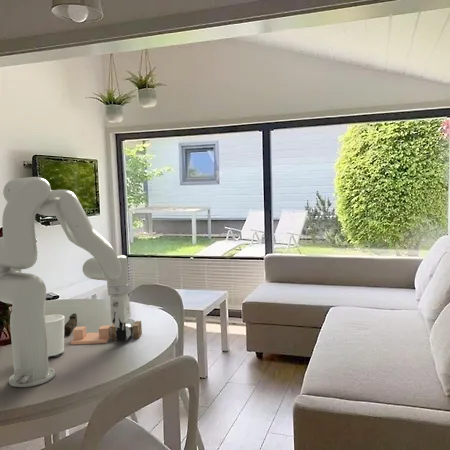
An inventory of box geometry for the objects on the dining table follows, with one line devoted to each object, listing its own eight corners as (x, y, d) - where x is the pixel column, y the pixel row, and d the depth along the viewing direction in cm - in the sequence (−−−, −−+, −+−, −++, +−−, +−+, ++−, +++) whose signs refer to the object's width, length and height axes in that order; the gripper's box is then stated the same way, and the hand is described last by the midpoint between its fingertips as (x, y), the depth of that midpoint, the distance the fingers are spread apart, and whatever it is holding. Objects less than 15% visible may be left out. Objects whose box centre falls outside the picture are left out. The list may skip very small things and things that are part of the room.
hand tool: (71, 336, 177) (70, 324, 176) (60, 336, 176) (59, 325, 176) (82, 322, 195) (81, 311, 195) (72, 323, 195) (72, 312, 195)
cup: (37, 352, 159) (34, 316, 158) (66, 348, 162) (64, 312, 161) (36, 362, 150) (33, 324, 149) (67, 357, 153) (64, 319, 152)
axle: (130, 341, 166) (128, 327, 166) (116, 342, 166) (115, 328, 166) (137, 331, 178) (135, 318, 178) (124, 332, 178) (123, 319, 178)
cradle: (106, 343, 166) (105, 331, 165) (71, 344, 166) (70, 332, 165) (113, 334, 176) (112, 322, 175) (80, 335, 176) (79, 324, 175)
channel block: (138, 338, 169) (138, 325, 169) (111, 339, 169) (111, 326, 169) (141, 333, 175) (141, 320, 174) (116, 334, 175) (115, 321, 175)
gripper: (124, 294, 155) (127, 347, 156) (133, 285, 170) (136, 333, 171) (102, 295, 155) (105, 347, 156) (113, 285, 170) (116, 334, 171)
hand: (121, 340), depth 164 cm, fingers closed
